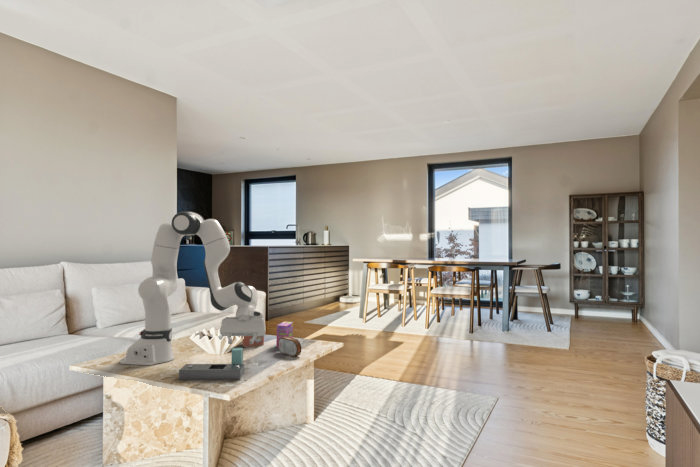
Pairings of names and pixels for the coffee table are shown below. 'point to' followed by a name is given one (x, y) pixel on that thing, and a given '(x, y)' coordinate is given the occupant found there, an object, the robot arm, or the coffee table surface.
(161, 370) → the coffee table surface
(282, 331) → the box
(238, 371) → the grey slotted base
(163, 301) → the robot arm
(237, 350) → the peg
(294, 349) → the tin
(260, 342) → the canned food
